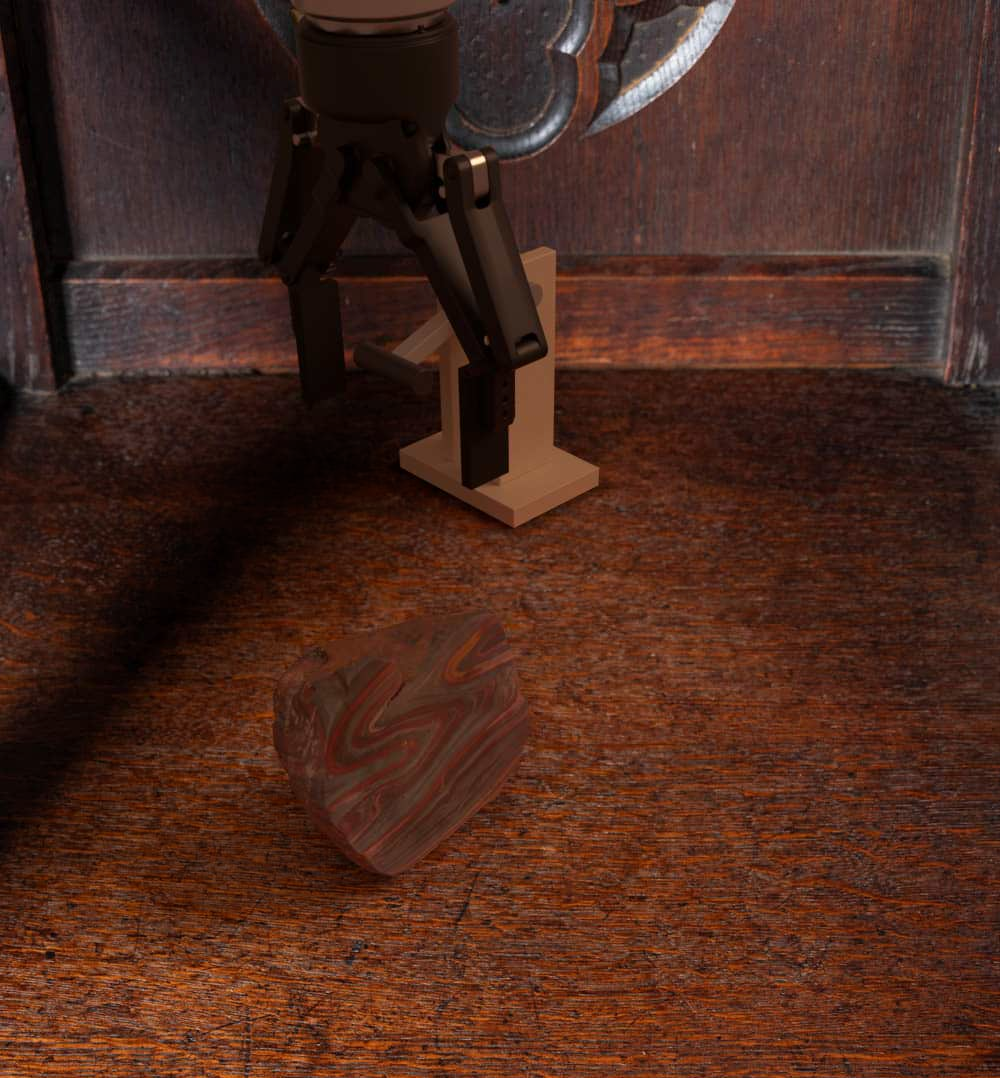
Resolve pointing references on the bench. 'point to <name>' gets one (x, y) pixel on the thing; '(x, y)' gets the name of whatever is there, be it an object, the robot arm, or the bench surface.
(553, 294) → the bracket
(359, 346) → the lever
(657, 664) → the bench surface
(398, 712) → the stone
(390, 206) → the robot arm
